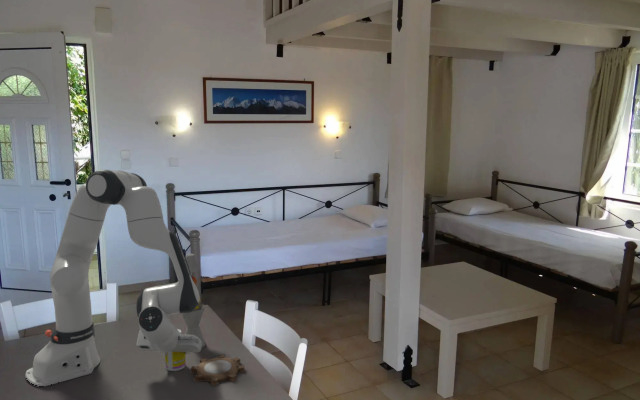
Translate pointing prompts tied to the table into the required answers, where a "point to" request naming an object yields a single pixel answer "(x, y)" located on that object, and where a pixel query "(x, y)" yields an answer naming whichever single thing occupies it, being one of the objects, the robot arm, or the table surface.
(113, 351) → the table surface
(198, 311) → the lava lamp
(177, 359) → the supplement bottle
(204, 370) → the gear platform
